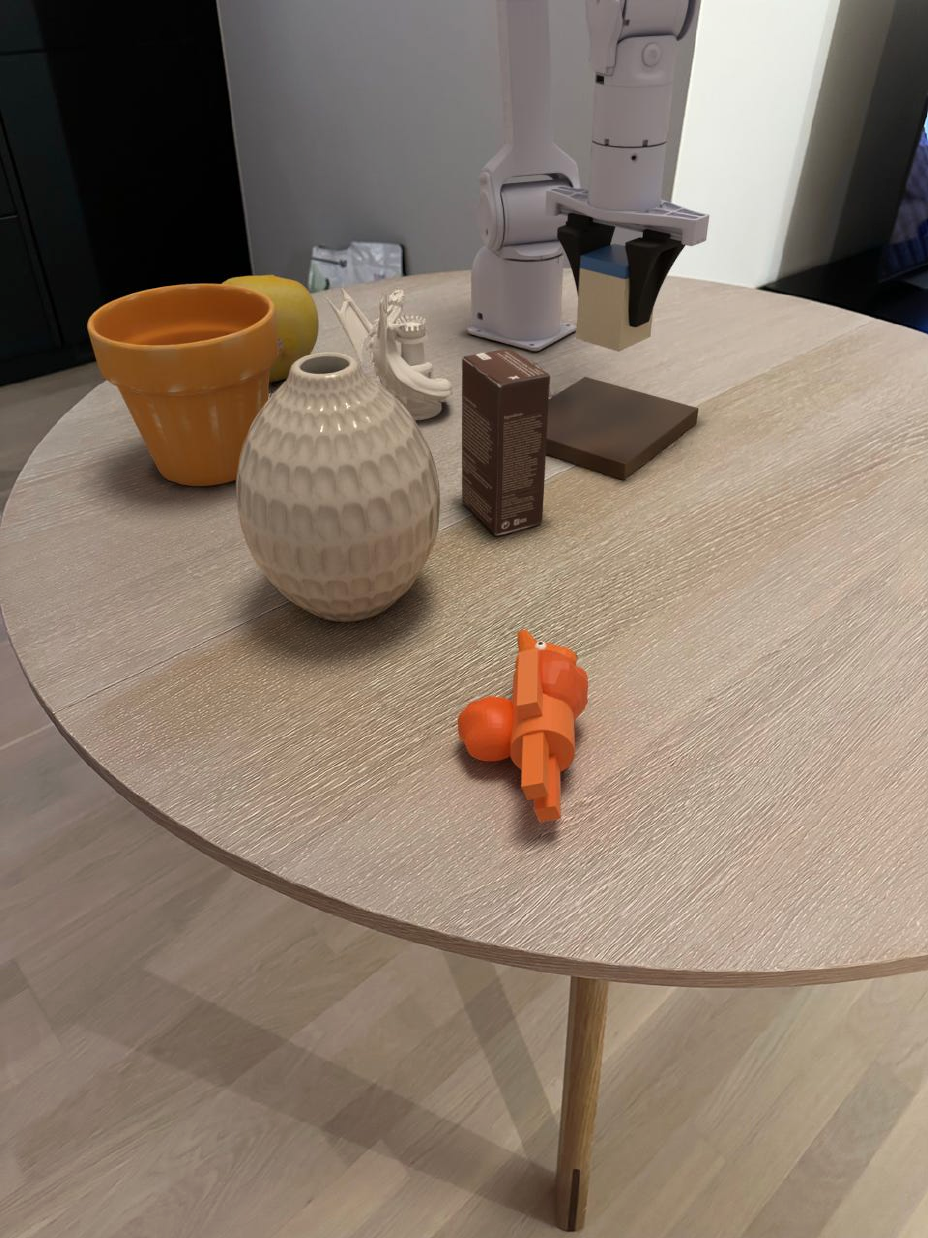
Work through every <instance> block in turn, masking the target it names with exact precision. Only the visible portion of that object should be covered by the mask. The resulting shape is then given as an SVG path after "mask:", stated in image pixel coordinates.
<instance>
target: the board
mask: <svg viewBox="0 0 928 1238" xmlns="http://www.w3.org/2000/svg"><path fill="white" fill-rule="evenodd" d="M698 417H699V407H696V406H692V405H689V404H685V403H682V402H678V401H674V400H671V399H667V398H665V397H664V398H663V397H661V396H657V395H653V394H649V393H647V392H643V391H638V390H636V389H635V390H634V389H631V388H628V387H624V386H620V385H616V384H613V383H610V382H605V381H602V380H600V379H599V380H598V379H595V378H592V377H588V376H584V377H582V378H581V379H579V380H577V381H576V382H574V383H572V384H571V385H569V386H568V387H566V388H564V389H563V390H560V391H559V392H558V393H557V394H554V395H553V396H550V397H549V403H548V424H547V441H546V456H551V457H553V458H556V459H559V460H562V461H565V462H568V463H571V464H574V465H577V466H581V467H583V468H586V469H589V470H592V471H595V472H599V473H601V474H604V475H607V476H610V477H614V478H616V479H619V480H623V481H624V480H625V479H627V478H628V477H629V476H631V475H632V474H633V473H635V472H636V471H637V470H639V469H640V468H641V467H642V466H643V465H645V464H646V463H648V462H649V461H650V460H651V459H652V458H654V457H655V456H656V455H657V454H659V453H660V452H662V451H663V450H664V449H665V448H666V447H668V446H669V445H670V444H672V443H673V442H674V441H676V440H677V439H678V438H680V436H682V435H683V434H684V433H686V432H687V431H688V430H690V429H691V428H693V426H695V425H696V424H697V422H698V421H697V420H698Z"/></svg>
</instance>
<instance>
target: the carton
mask: <svg viewBox="0 0 928 1238" xmlns="http://www.w3.org/2000/svg"><path fill="white" fill-rule="evenodd" d="M629 295H630V276H629V266H628V259H627V254H626V250H625V245H622V244H619V243H615V242H614V243H611V244H610V245H609V246H606V247H603V248H600V249H598V250H595V251H592V252H590V253H587V254H584V255H581V259H580V277H579V295H578V294H577V299H578V300H577V313H576V314H577V315H576V330H575V332H576V333H575V339H576V340H579V341H582V342H586V343H589V344H592V345H595V346H599V347H603V348H606V349H608V350H612V351H615V352H619V353H620V352H621V351H623V350H626V349H628V348H630V347H632V346H634V345H636V344H638V343H641V342H642V341H644V340H646V339H649V338H651V337H652V336H651V335H652V325H653V316H654V309H653V310H652V314H651V317H650V320H649V322H647V323H645V324H643V325H641V326H638V327H632V326H629V314H628V308H629Z"/></svg>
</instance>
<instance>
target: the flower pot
mask: <svg viewBox="0 0 928 1238" xmlns="http://www.w3.org/2000/svg"><path fill="white" fill-rule="evenodd" d="M86 328H87V332H88V335H89V339H90V343H91V346H92V350H93V354H94V357H95V360H96V364H97V367H98V369H99V372H100V373H101V375H102V377H103V378H104V379H105V380H106V381H107V382H109V383H110V384H111V385H113V386H115V387H116V388H117V389H118V391H119V393H120V395H121V397H122V399H123V402H124V403H125V404H126V407H127V409H128V411H129V414H130V415H131V418H132V420H133V421H134V424H135V425H136V428H137V430H138V432H139V434H140V436H141V438H142V440H143V442H144V444H145V446H146V448H147V450H148V452H149V454H150V456H151V458H152V460H153V462H154V464H155V466H156V467H157V469H158V471H159V473H160V474H161V476H162V477H163V478H165V479H166V480H168V481H171V482H173V483H177V484H179V485H182V486H184V485H185V486H190V487H209V486H210V487H211V486H216V485H221V484H228V483H231V482H234V481H236V477H237V470H238V464H239V458H240V454H241V451H242V447H243V444H244V441H245V439H246V436H247V434H248V432H249V429H250V427H251V424H252V422H253V421H254V419H255V417H256V416H257V414H258V412H259V411H260V409H261V408H262V407H263V405H264V404H265V403H266V402H267V400H268V399H269V387H270V382H269V373H270V367H271V366H272V365H273V364H274V362H275V361H276V359H277V357H278V354H279V339H278V329H277V320H276V313H275V306H274V304H273V302H272V301H271V299H269V298H268V297H267V296H266V295H264V294H262V293H260V292H258V291H255V290H252V289H248V288H244V287H239V286H233V285H224V284H222V283H185V284H176V285H168V286H162V287H156V288H151V289H145V290H141V291H137V292H134V293H131V294H127V295H124V296H122V297H119V298H116V299H114V300H112V301H110V302H108V303H106V304H103V305H102V306H100V307H99V308H98V309H96V310H95V311H94V312H93V313H92V314H91V316H90V317H89V318H88V321H87V326H86Z"/></svg>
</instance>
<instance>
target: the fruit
mask: <svg viewBox="0 0 928 1238" xmlns="http://www.w3.org/2000/svg"><path fill="white" fill-rule="evenodd" d="M221 284H224V285H233V286H239V287H244V288H248V289H252V290H255V291H258V292H260V293H262V294H264V295H266V296H267V297H268V298H269V299H271V301H272V302H273V304H274V306H275V313H276V320H277V329H278V339H279V354H278V357H277V359H276V361H275V362H274V364H273V365H272V366H271V367H270V373H269V383H275V382H280V381H282V380H283V381H284V380H285V379H286V380H287V378H288V376H289V370H290V368H291V365H292V364H293V363H294V362H295V361H297V360H298V359H300V358H302V357H304V356H307V355H311V354H312V352H313V350H314V348H315V346H316V343H317V341H318V336H319V327H320V325H319V323H320V322H319V313H318V312H319V311H318V308H317V304H316V302H315V300H314V298H313V296H312V294H311V293H310V291H309V290H308V289H307V288H306V287H305V286H304V285H303V284H302V283H300V282H299V281H297V280H293V279H289V278H285V277H281V276H276V275H274V274H265V275H264V274H263V275H244V276H236V277H231V278H228V279H227V280H225V281H223V282H222V283H221Z"/></svg>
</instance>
